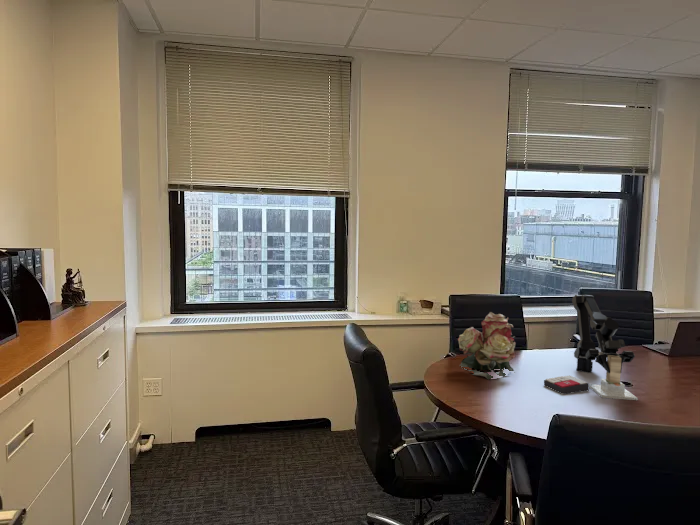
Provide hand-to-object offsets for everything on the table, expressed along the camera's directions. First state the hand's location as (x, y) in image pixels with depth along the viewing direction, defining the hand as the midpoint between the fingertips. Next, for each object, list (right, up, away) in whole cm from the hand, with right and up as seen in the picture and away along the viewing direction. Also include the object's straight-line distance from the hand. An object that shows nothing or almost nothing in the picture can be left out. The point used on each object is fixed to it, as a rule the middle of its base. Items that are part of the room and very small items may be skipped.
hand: (614, 373), depth 189 cm
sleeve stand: (0, -9, +2) cm, 10 cm away
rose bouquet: (-45, -7, +29) cm, 54 cm away
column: (0, -6, +2) cm, 6 cm away
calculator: (-18, -9, +7) cm, 21 cm away
